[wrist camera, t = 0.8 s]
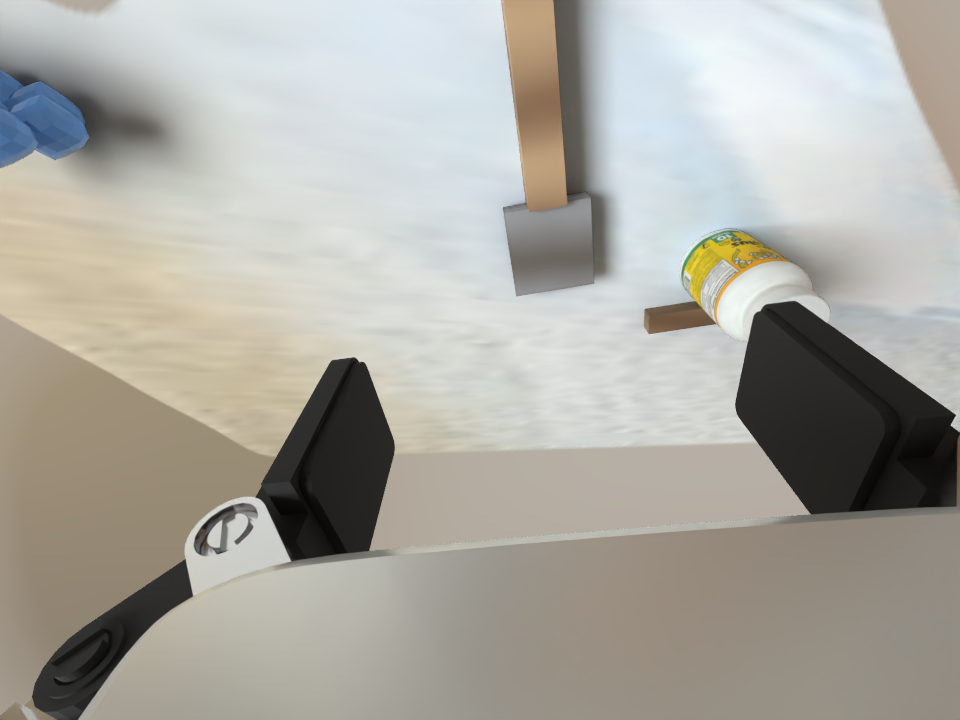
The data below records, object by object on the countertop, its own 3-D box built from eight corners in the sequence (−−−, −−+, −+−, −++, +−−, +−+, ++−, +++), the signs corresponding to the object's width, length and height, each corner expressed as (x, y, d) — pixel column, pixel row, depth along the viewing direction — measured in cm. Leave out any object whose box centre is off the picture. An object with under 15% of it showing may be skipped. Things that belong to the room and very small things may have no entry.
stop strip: (644, 309, 34) (649, 316, 33) (778, 288, 33) (787, 295, 32) (644, 326, 35) (649, 333, 34) (774, 306, 34) (782, 313, 33)
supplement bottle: (662, 282, 33) (719, 350, 25) (706, 215, 30) (786, 268, 22) (721, 304, 34) (794, 376, 26) (769, 241, 31) (868, 301, 23)
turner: (468, -21, 23) (466, -33, 21) (572, -48, 22) (583, -62, 20) (514, 283, 33) (516, 301, 30) (587, 271, 32) (596, 288, 30)
